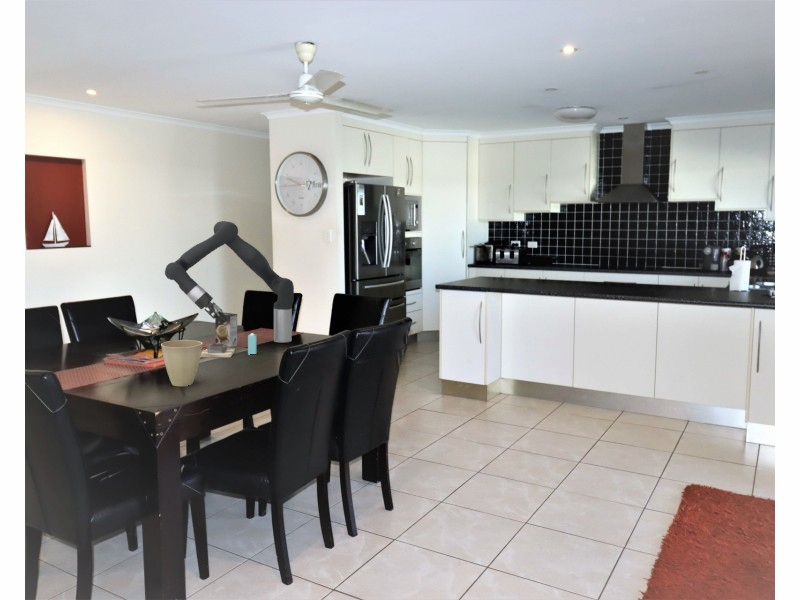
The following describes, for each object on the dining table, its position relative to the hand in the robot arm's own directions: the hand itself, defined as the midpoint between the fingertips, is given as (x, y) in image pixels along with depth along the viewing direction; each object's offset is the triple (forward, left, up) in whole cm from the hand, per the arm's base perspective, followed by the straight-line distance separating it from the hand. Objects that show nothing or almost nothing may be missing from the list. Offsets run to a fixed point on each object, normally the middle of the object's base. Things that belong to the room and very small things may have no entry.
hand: (225, 321), depth 289 cm
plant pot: (+53, -8, -16) cm, 56 cm away
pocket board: (0, -4, -15) cm, 16 cm away
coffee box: (-20, -3, -16) cm, 26 cm away
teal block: (0, +12, -15) cm, 20 cm away
